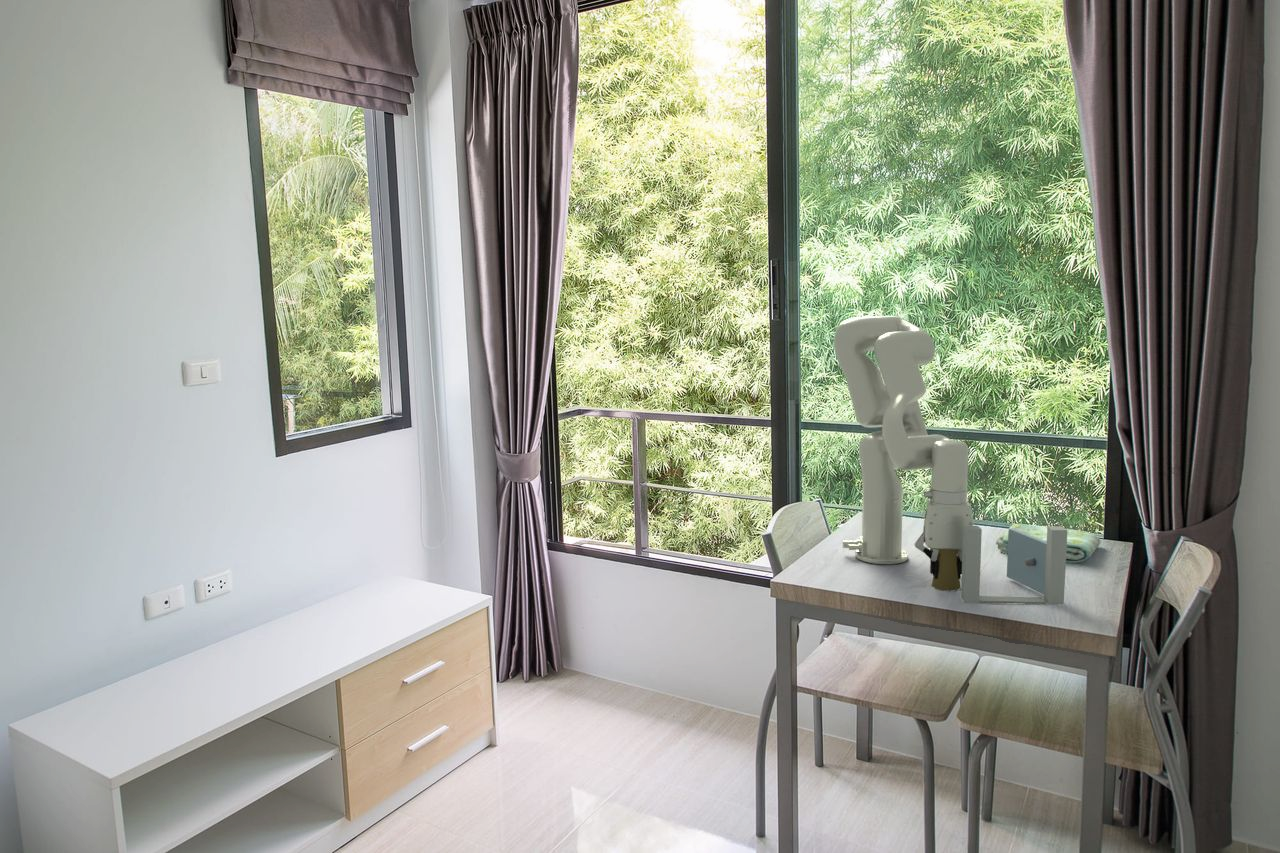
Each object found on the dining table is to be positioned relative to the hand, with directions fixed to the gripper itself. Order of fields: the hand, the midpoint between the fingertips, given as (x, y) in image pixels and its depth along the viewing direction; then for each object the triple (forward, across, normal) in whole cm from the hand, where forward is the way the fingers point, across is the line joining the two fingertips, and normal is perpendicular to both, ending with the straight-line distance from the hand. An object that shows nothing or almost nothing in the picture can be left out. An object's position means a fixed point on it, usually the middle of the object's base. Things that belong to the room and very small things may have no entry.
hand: (946, 576), depth 198 cm
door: (+1, +16, -1) cm, 16 cm away
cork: (+2, 0, 0) cm, 2 cm away
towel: (+3, +31, +29) cm, 43 cm away
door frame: (+2, +12, -9) cm, 15 cm away
